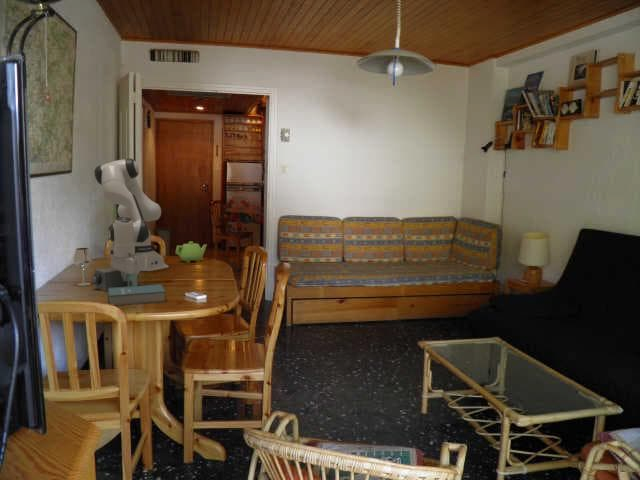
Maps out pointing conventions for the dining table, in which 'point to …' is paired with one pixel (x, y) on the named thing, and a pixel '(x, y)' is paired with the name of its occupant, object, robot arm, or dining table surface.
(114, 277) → the housing
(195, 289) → the dining table surface
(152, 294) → the book
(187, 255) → the teapot
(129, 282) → the side door
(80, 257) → the wineglass
